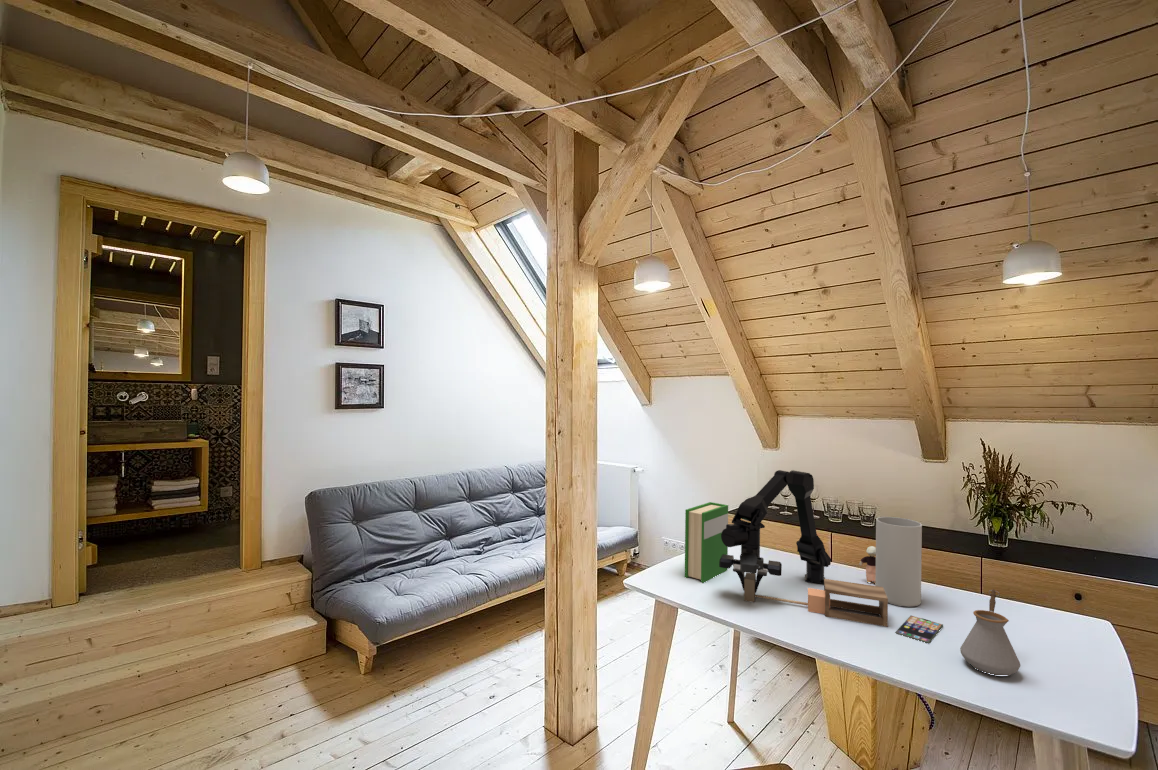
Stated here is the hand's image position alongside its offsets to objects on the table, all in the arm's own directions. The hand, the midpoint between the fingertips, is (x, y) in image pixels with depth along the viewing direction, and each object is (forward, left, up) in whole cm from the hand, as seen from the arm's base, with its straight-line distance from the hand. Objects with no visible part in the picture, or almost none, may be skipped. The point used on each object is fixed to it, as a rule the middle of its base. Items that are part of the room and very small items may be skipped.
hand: (749, 591), depth 166 cm
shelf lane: (0, +30, -2) cm, 30 cm away
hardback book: (-16, -16, -2) cm, 23 cm away
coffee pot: (+15, +59, -2) cm, 61 cm away
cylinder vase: (-19, +44, -2) cm, 48 cm away
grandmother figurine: (-32, +38, -2) cm, 50 cm away
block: (0, +11, -2) cm, 11 cm away
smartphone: (+3, +46, -3) cm, 46 cm away
